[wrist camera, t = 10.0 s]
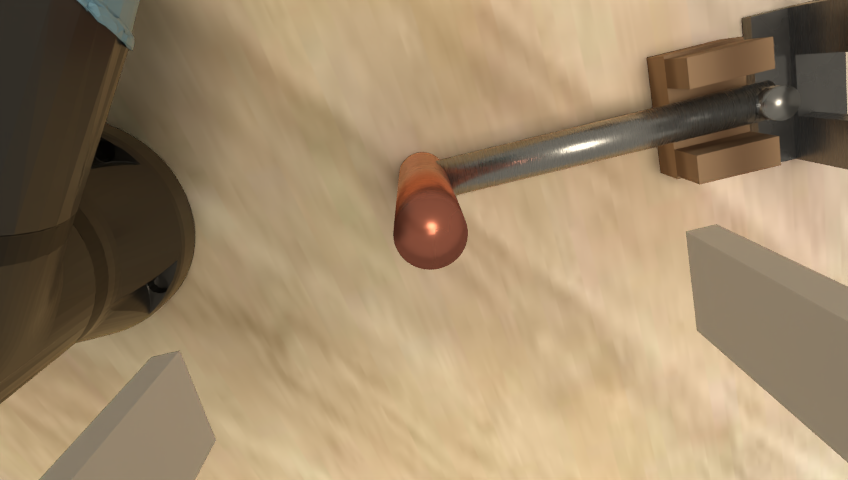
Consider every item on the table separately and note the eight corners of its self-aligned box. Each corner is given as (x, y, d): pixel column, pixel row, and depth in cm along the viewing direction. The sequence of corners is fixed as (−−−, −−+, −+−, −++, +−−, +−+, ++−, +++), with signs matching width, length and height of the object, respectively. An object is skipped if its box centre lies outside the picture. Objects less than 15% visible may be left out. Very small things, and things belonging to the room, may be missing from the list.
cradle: (660, 172, 40) (699, 187, 34) (646, 57, 38) (686, 54, 32) (730, 155, 40) (781, 168, 34) (720, 39, 37) (772, 32, 32)
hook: (405, 203, 39) (403, 276, 25) (394, 158, 38) (384, 207, 24) (750, 119, 38) (958, 145, 24) (746, 72, 37) (961, 68, 23)
